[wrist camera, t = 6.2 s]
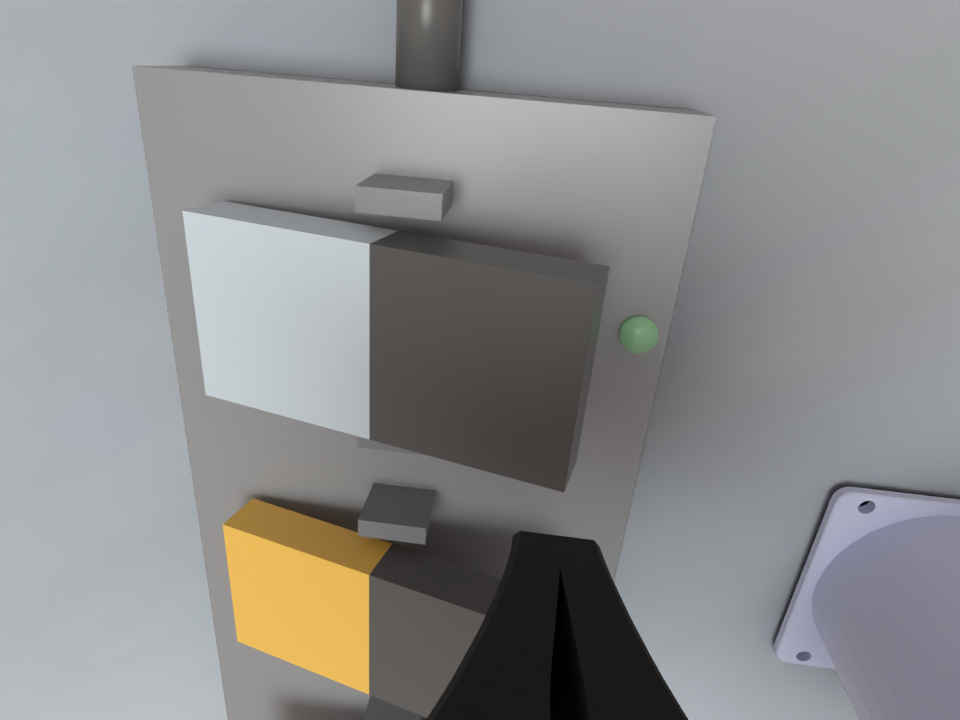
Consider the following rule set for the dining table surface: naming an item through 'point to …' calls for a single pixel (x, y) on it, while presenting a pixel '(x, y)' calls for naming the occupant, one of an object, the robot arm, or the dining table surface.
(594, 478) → the rocker switch panel
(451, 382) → the rocker
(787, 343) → the dining table surface
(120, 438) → the dining table surface
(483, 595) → the block
